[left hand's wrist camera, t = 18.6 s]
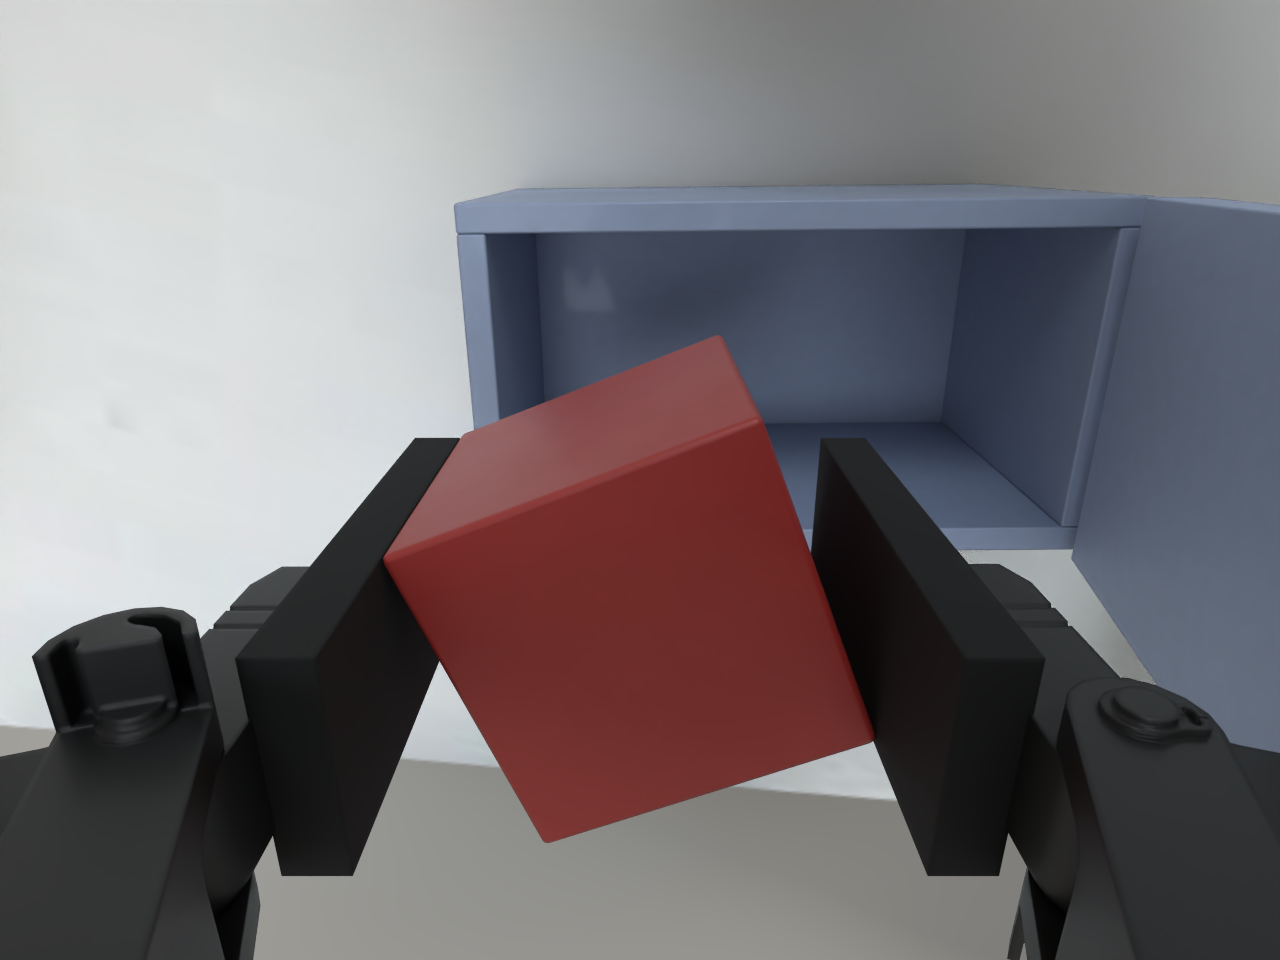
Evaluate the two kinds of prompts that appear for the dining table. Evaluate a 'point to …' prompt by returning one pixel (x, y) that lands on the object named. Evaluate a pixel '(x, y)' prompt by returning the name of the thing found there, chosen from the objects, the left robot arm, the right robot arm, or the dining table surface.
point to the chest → (831, 324)
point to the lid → (1195, 463)
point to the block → (629, 596)
